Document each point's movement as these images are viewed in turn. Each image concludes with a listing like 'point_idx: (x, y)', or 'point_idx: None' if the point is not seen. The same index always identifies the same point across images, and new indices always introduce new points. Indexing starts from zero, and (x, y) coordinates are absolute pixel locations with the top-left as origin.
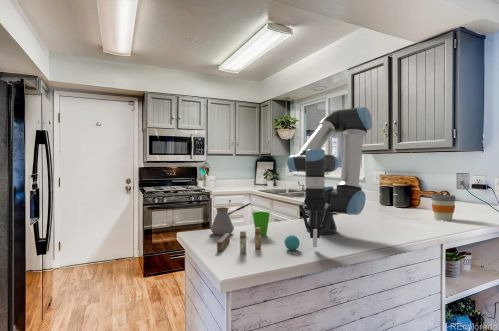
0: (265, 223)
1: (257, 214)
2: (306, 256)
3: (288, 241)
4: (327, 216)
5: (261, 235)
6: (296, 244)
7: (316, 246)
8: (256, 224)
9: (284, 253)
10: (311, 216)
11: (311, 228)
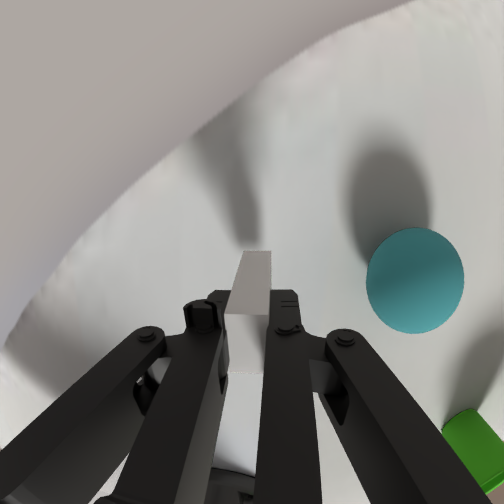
0: (472, 454)
1: (484, 485)
2: (321, 145)
3: (452, 245)
4: (34, 422)
5: (466, 413)
6: (396, 238)
7: (247, 253)
8: (498, 437)
9: (441, 192)
10: (296, 470)
11: (290, 329)
